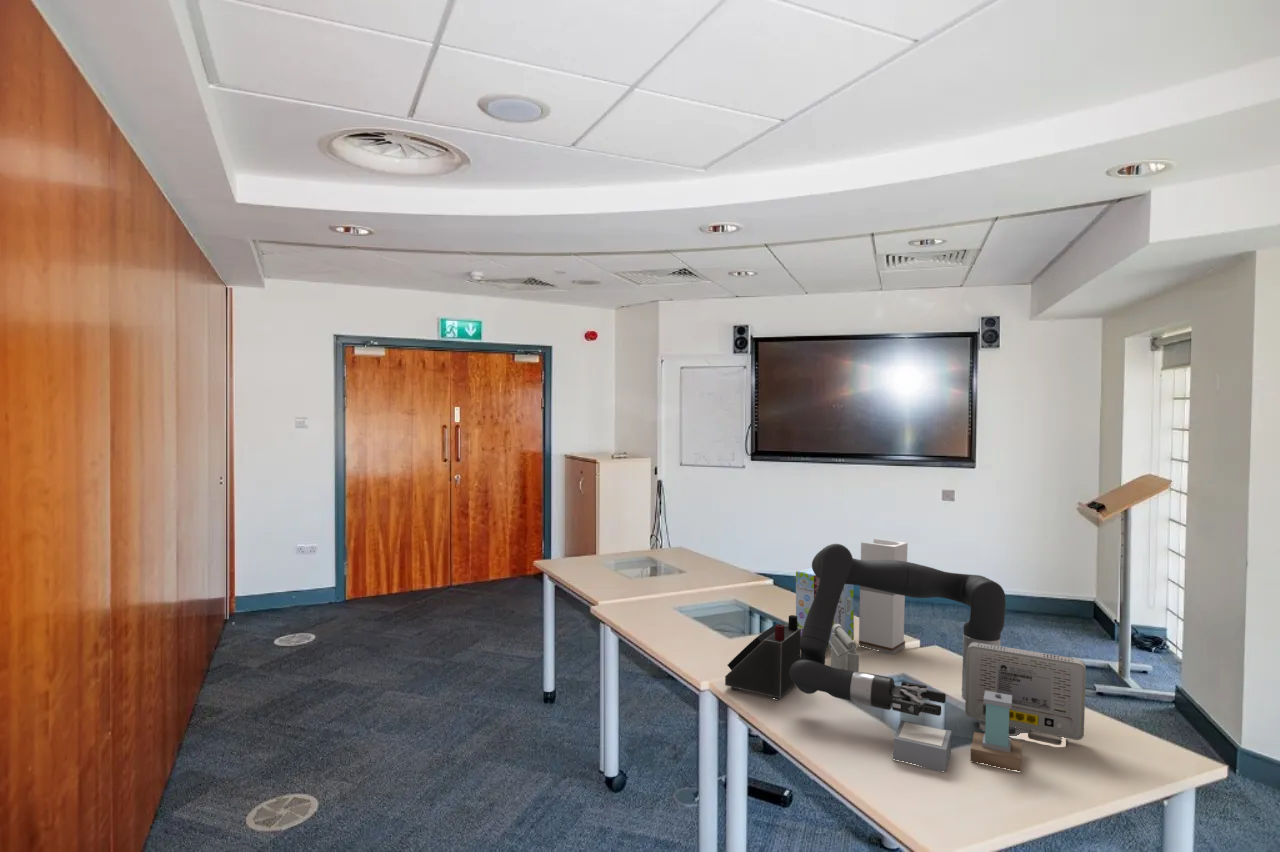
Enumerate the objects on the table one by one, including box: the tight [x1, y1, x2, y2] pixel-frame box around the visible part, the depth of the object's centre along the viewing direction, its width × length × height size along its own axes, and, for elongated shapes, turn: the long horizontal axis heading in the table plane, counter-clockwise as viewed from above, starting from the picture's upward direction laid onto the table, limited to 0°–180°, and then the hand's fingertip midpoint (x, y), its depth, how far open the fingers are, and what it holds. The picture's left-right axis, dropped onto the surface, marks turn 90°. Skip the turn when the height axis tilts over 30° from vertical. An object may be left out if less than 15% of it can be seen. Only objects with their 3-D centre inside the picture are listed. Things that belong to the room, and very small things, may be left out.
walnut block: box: [970, 731, 1023, 771], centre depth 165 cm, size 10×10×3 cm
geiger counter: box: [828, 624, 860, 672], centre depth 215 cm, size 14×6×25 cm
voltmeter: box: [724, 614, 801, 700], centre depth 205 cm, size 16×16×20 cm
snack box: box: [795, 567, 855, 649], centre depth 245 cm, size 22×9×26 cm, turn 128°
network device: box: [964, 642, 1087, 741], centre depth 178 cm, size 26×9×20 cm, turn 59°
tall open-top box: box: [858, 538, 909, 655], centre depth 243 cm, size 11×11×35 cm
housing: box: [982, 691, 1012, 753], centre depth 165 cm, size 6×6×12 cm
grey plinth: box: [892, 720, 952, 773], centre depth 165 cm, size 11×11×5 cm
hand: (943, 704), depth 170 cm, fingers open, 8 cm apart
